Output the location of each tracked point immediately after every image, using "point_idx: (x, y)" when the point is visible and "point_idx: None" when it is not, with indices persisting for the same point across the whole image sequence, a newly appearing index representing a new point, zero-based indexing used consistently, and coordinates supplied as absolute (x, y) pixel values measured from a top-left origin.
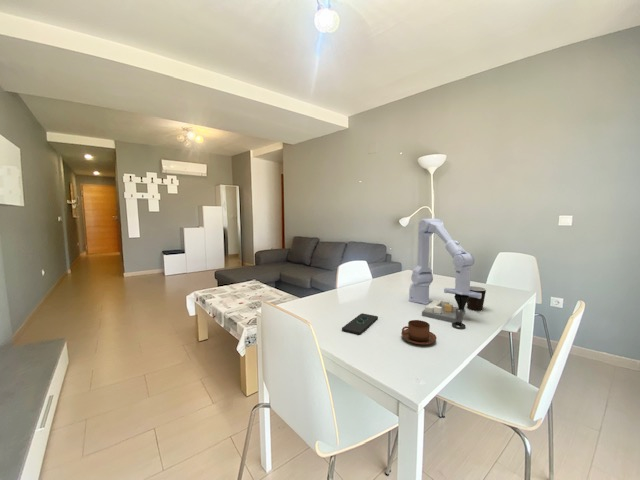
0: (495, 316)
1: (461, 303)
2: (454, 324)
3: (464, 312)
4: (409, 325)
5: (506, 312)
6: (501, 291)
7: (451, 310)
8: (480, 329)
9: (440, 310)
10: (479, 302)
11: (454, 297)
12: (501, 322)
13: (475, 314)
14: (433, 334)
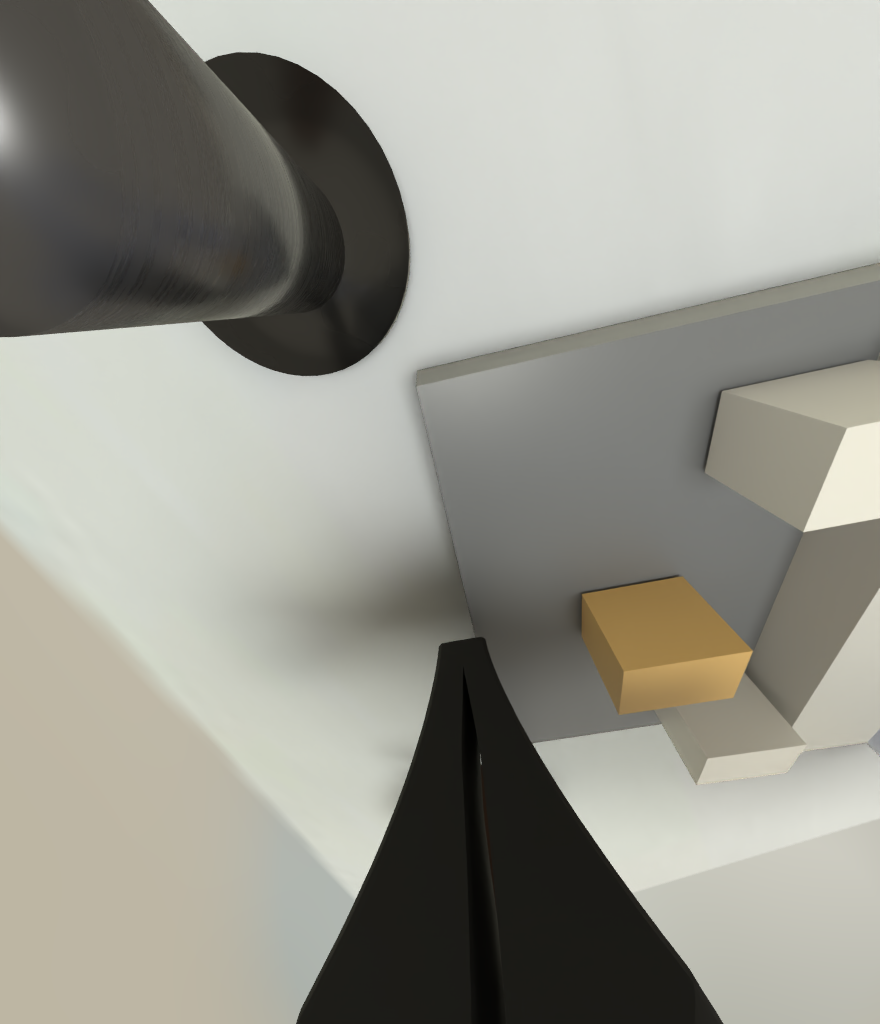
0: (308, 769)
1: (459, 805)
2: (340, 186)
3: None
4: None
5: (319, 831)
6: None
7: (592, 615)
8: (88, 435)
9: (789, 408)
10: None
11: (713, 1009)
12: (195, 719)
13: (419, 726)
14: None
